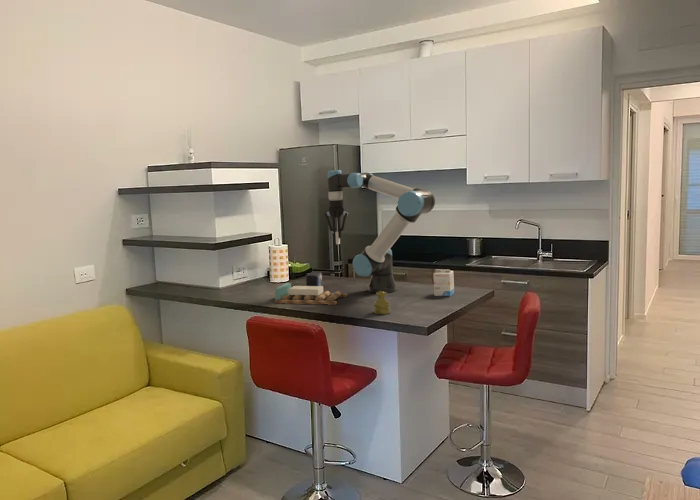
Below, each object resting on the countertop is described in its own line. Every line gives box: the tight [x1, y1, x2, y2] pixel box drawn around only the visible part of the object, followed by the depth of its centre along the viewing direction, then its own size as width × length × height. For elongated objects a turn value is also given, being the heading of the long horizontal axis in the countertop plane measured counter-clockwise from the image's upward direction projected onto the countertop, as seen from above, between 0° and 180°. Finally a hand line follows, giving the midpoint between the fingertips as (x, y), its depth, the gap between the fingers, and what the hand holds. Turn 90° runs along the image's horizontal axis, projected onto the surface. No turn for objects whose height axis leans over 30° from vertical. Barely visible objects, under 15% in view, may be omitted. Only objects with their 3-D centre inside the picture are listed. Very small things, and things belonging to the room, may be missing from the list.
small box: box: [305, 271, 323, 286], centre depth 301 cm, size 11×6×10 cm, turn 168°
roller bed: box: [274, 290, 348, 306], centre depth 283 cm, size 32×19×3 cm, turn 73°
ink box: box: [432, 268, 455, 297], centre depth 282 cm, size 9×8×13 cm
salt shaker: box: [372, 291, 391, 315], centre depth 250 cm, size 7×7×10 cm
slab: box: [288, 285, 324, 295], centre depth 284 cm, size 16×8×3 cm, turn 74°
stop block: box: [274, 282, 292, 300], centre depth 287 cm, size 3×14×7 cm, turn 163°
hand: (338, 243), depth 296 cm, fingers closed
